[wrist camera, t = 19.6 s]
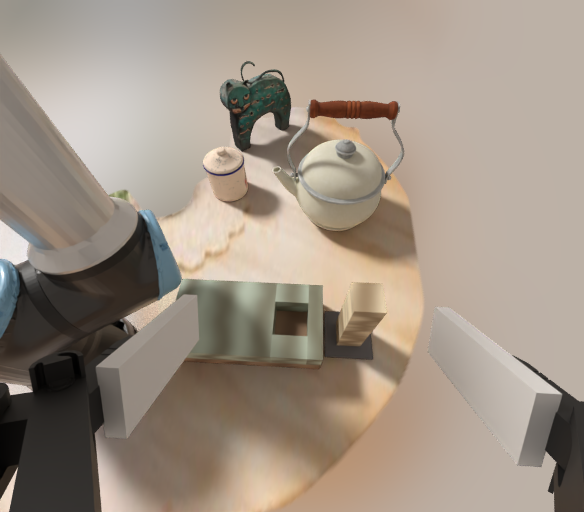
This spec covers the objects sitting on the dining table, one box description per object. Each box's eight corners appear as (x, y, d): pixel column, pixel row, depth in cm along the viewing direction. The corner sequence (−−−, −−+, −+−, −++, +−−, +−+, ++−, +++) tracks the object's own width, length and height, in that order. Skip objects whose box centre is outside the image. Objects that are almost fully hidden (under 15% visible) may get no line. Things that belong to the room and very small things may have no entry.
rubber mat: (325, 356, 46) (325, 356, 46) (324, 312, 51) (324, 311, 50) (372, 359, 46) (373, 358, 46) (367, 314, 50) (368, 313, 50)
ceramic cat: (239, 156, 75) (223, 77, 58) (226, 145, 78) (207, 66, 61) (294, 128, 82) (294, 50, 65) (280, 119, 84) (277, 41, 68)
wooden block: (336, 345, 47) (354, 311, 33) (335, 322, 49) (352, 282, 36) (360, 346, 47) (386, 313, 33) (358, 323, 49) (382, 283, 35)
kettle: (376, 182, 69) (412, 74, 48) (386, 241, 59) (437, 138, 38) (278, 179, 70) (271, 72, 49) (271, 237, 60) (260, 133, 39)
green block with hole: (177, 360, 46) (160, 350, 40) (194, 295, 53) (182, 278, 47) (319, 369, 45) (322, 360, 39) (319, 301, 52) (322, 285, 46)
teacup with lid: (256, 191, 68) (249, 151, 58) (224, 208, 65) (212, 169, 55) (231, 166, 73) (221, 125, 63) (200, 181, 70) (185, 140, 60)
